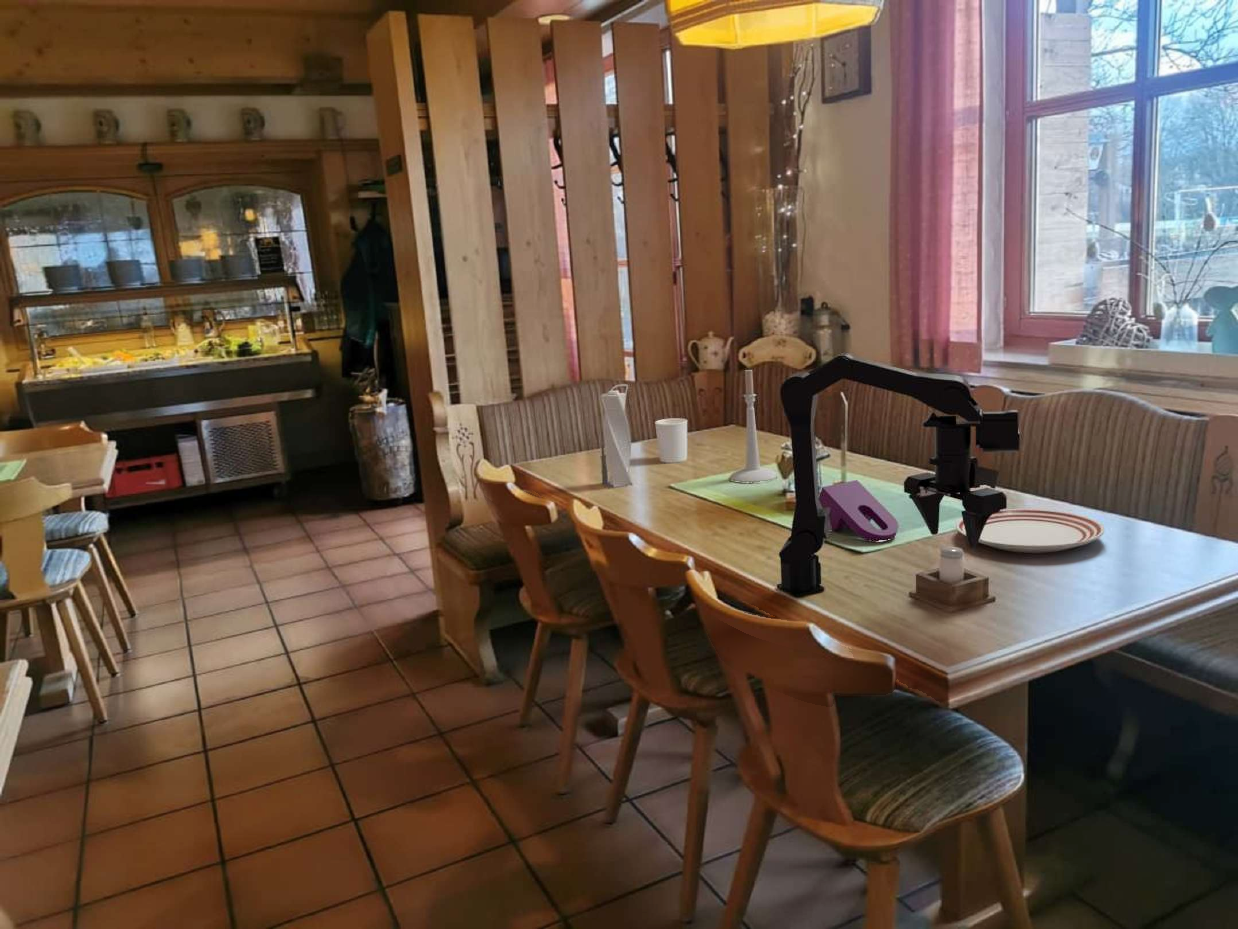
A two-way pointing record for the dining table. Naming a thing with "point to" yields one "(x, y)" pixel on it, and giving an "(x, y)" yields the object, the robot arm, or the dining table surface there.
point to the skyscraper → (616, 440)
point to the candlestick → (751, 443)
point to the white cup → (672, 439)
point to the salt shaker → (951, 565)
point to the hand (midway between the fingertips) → (953, 540)
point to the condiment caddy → (952, 590)
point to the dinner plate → (1036, 530)
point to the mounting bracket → (857, 511)
